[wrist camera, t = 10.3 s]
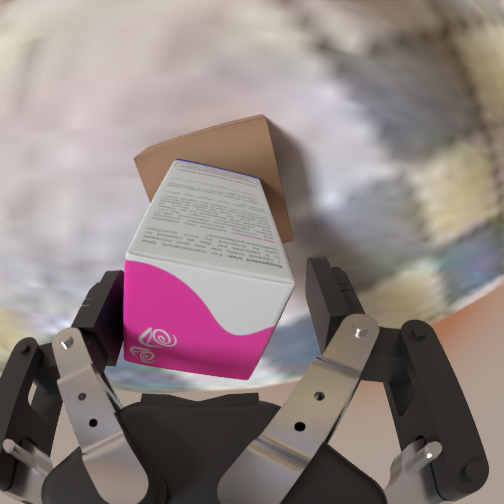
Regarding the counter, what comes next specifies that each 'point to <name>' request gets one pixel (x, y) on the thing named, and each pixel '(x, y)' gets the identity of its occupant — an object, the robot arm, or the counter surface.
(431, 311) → the counter surface
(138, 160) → the brown cardboard box
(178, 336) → the supplement box
